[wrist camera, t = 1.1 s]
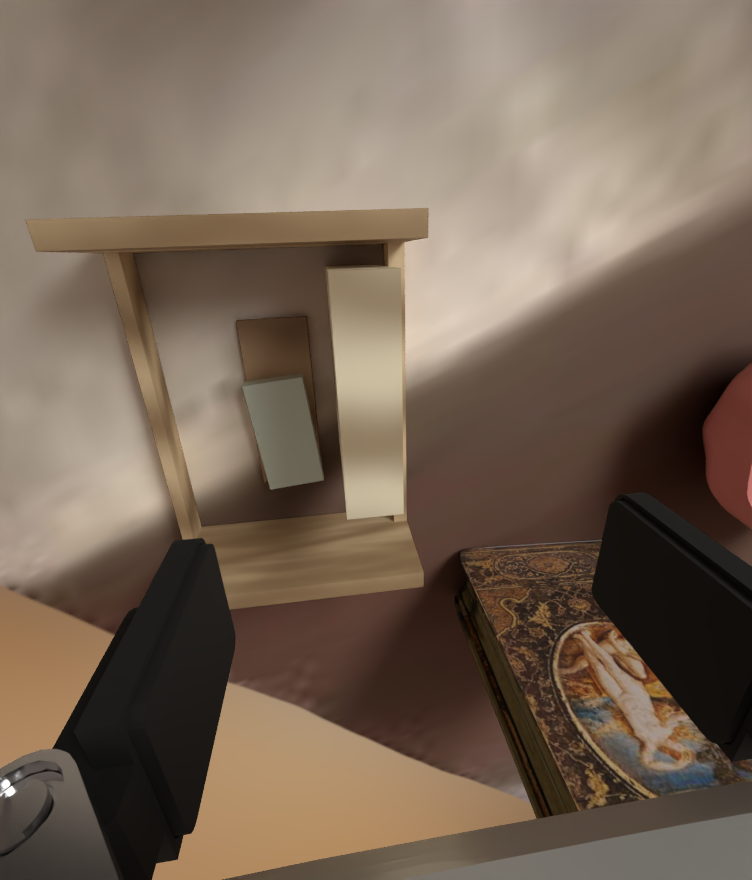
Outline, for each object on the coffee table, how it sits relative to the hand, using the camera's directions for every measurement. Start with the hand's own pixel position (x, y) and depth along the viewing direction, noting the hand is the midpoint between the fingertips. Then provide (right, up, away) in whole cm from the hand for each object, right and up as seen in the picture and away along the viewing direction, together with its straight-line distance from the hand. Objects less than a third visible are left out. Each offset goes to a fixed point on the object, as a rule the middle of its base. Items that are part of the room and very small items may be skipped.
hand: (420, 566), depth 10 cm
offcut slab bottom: (-8, +6, +21) cm, 23 cm away
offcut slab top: (-8, +4, +21) cm, 22 cm away
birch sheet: (-3, +9, +20) cm, 22 cm away
